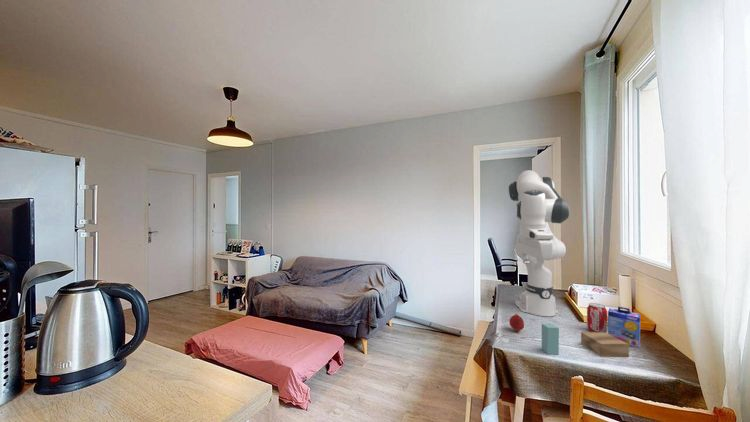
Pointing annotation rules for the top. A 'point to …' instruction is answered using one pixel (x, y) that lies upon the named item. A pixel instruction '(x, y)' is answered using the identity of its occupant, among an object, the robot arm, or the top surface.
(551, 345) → the teal block
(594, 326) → the soda can
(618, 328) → the ink cartridge box
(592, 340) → the walnut block
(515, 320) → the onion
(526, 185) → the robot arm
